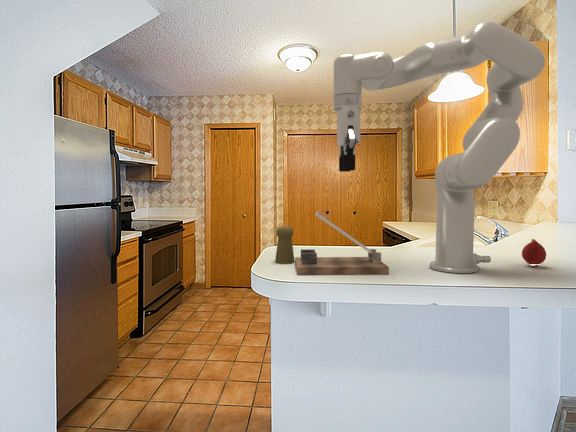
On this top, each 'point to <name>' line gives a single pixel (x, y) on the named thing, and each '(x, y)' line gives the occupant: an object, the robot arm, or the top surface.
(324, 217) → the hinged lever bar
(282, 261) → the pepper mill
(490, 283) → the top surface
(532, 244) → the onion
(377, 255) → the board
